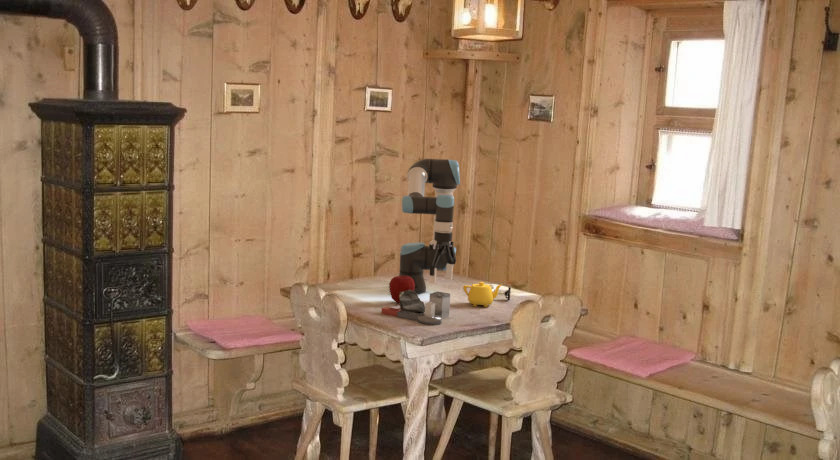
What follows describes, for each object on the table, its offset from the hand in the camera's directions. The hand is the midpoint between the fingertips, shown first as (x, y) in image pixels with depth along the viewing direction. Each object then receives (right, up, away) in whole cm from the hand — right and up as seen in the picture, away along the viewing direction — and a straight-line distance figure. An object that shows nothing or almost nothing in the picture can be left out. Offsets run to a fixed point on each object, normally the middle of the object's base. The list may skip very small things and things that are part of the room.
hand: (440, 281), depth 360 cm
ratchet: (-13, -16, -3) cm, 20 cm away
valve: (+28, -12, +42) cm, 52 cm away
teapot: (+19, -13, +29) cm, 37 cm away
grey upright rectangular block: (-1, -15, +2) cm, 16 cm away
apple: (-17, -12, +24) cm, 32 cm away
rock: (-13, -14, +9) cm, 21 cm away
